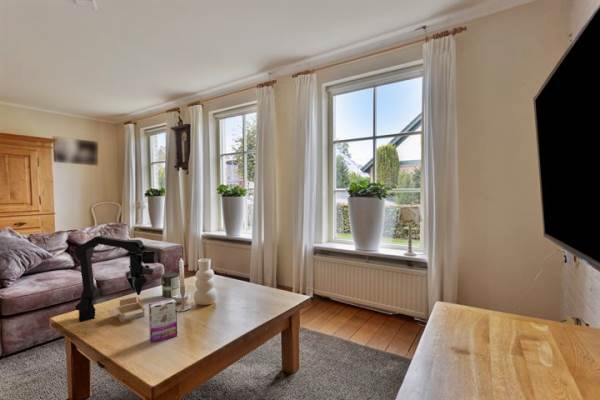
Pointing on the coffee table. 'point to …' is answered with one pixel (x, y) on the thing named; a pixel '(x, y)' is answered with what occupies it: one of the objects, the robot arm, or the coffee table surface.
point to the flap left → (128, 301)
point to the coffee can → (170, 285)
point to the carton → (128, 312)
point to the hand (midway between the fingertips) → (136, 292)
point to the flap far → (140, 301)
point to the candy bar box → (162, 320)
